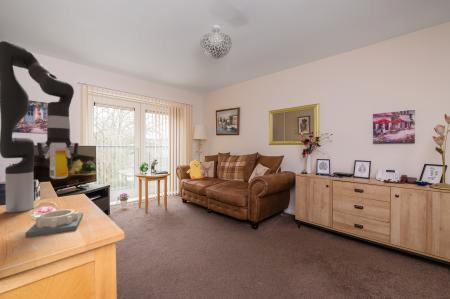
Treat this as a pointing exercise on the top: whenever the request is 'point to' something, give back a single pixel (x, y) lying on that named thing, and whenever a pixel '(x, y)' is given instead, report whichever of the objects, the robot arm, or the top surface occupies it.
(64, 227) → the gear socket
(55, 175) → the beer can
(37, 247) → the top surface
